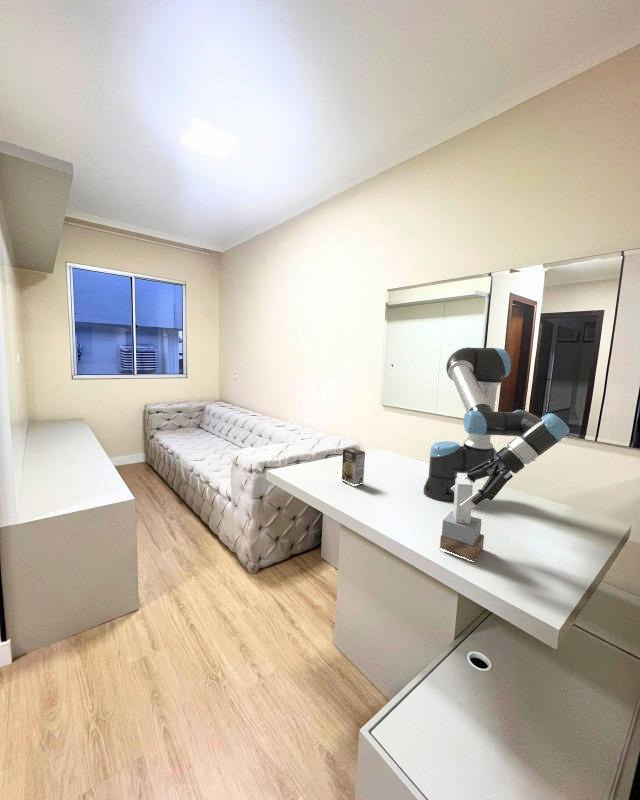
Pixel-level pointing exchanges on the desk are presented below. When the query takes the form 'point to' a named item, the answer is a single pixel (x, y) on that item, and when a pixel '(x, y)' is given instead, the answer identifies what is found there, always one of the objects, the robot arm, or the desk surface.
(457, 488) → the skincare box
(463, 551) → the tower base block
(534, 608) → the desk surface
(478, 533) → the tower top block
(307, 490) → the desk surface
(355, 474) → the coffee box
